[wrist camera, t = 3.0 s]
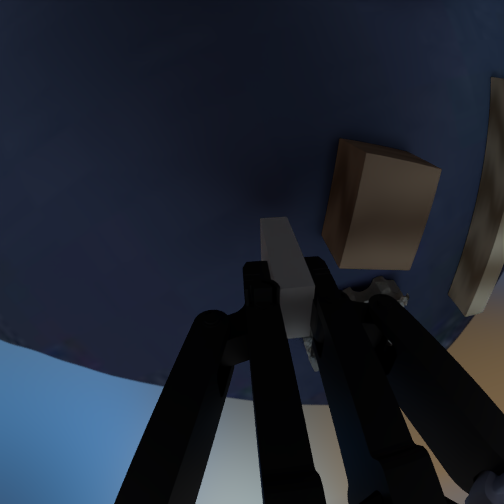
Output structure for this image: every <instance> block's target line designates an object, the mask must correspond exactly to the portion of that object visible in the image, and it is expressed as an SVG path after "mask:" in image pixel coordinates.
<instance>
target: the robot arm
mask: <svg viewBox="0 0 504 504" xmlns="http://www.w3.org/2000/svg"><path fill="white" fill-rule="evenodd" d="M260 230H261V261H253V262H246V264H245V265H244V267H243V281H244V296H245V304H244V306H243V307H242V309H241V310H239V311H238V312H236V313H233V314H230V315H227V314H225V313H224V312H222V311H219V310H208V311H204V312H202V313H200V314H199V315H198V316H197V317H196V318H195V320H194V322H193V324H192V326H191V328H190V331H189V333H188V335H187V337H186V339H185V342H184V344H183V346H182V348H181V350H180V352H179V355H178V357H177V359H176V361H175V364H174V366H173V368H172V370H171V372H170V375H169V377H168V379H167V381H166V384H165V386H164V388H163V390H162V393H161V395H160V397H159V399H158V402H157V404H156V406H155V409H154V411H153V413H152V415H151V418H150V420H149V422H148V424H147V427H146V429H145V431H144V434H143V436H142V439H141V441H140V443H139V446H138V448H137V450H136V453H135V455H134V457H133V459H132V462H131V464H130V467H129V469H128V472H127V474H126V477H125V479H124V481H123V483H122V486H121V488H120V491H119V493H118V496H117V498H116V501H115V503H114V504H195V502H196V499H197V496H198V492H199V489H200V485H201V482H202V479H203V475H204V472H205V469H206V465H207V461H208V458H209V455H210V451H211V448H212V444H213V441H214V438H215V434H216V431H217V427H218V424H219V420H220V417H221V413H222V410H223V406H224V402H225V399H226V395H227V392H228V388H229V385H230V381H231V378H232V374H233V370H234V365H236V364H239V363H242V362H244V361H247V360H250V371H251V382H252V393H253V404H254V414H255V426H256V437H257V447H258V457H259V468H260V478H261V487H262V498H263V504H326V500H325V495H324V490H323V485H322V482H321V478H320V476H319V474H318V473H317V472H316V470H315V467H314V463H313V458H312V453H311V448H310V443H309V438H308V433H307V429H306V423H305V418H304V414H303V409H302V404H301V399H300V395H299V390H298V385H297V380H296V376H295V371H294V366H293V362H292V357H291V353H290V348H289V343H288V339H289V338H299V337H308V336H310V329H311V330H312V334H313V338H312V346H311V353H310V357H313V353H315V357H316V360H317V364H318V368H319V371H320V375H321V378H322V382H323V386H324V389H325V393H326V397H327V401H328V404H329V408H330V412H331V416H332V419H333V423H334V427H335V431H336V435H337V439H338V443H339V446H340V450H341V455H342V459H343V463H344V467H345V471H346V475H347V479H348V503H349V504H457V503H456V502H454V501H452V500H450V499H449V498H447V497H445V496H444V494H443V491H442V488H441V485H440V482H439V479H438V477H437V474H436V471H435V469H434V466H433V463H432V460H431V458H430V455H429V453H428V451H427V450H426V449H425V448H424V447H423V446H420V445H416V444H415V443H414V442H413V440H412V437H411V435H410V432H409V430H408V427H407V425H406V422H405V420H404V417H403V415H402V412H401V410H402V411H403V412H404V414H405V415H406V416H407V418H408V419H409V420H410V422H411V423H412V425H413V426H414V427H415V429H416V430H417V431H418V433H419V434H420V435H421V437H422V438H423V440H424V441H425V442H426V444H427V445H428V447H429V448H430V449H431V451H432V452H433V454H434V455H435V456H436V458H437V459H438V460H439V462H440V463H441V465H442V466H443V468H444V469H445V470H446V472H447V473H448V474H449V476H450V477H451V478H452V479H453V481H454V482H455V483H456V484H457V485H458V486H459V487H461V488H462V489H463V490H464V491H465V492H467V493H468V494H469V496H468V497H467V498H466V500H465V504H504V414H503V413H502V411H501V410H500V409H499V408H498V407H497V406H496V404H495V403H494V402H493V401H492V400H491V399H490V397H488V395H487V394H486V393H485V392H484V391H483V389H481V387H480V386H479V385H478V384H477V383H476V382H475V381H474V379H473V378H472V377H471V376H470V375H469V374H468V373H467V372H466V371H465V370H464V369H463V368H462V366H461V365H460V364H459V363H458V362H457V361H456V360H455V359H454V358H453V357H452V356H451V355H450V354H449V353H448V351H447V350H446V349H445V348H444V347H443V346H442V345H441V344H440V343H439V342H438V341H437V340H436V339H435V338H434V337H433V336H432V335H431V334H430V333H429V332H428V331H427V330H426V329H425V328H424V327H423V326H422V325H421V324H420V323H419V322H418V321H417V320H416V319H415V318H414V317H413V316H412V315H411V314H410V313H409V312H408V311H407V310H406V309H405V308H404V307H403V306H402V305H401V304H400V303H399V302H398V301H397V300H396V299H394V298H393V297H391V296H389V295H386V294H376V295H373V296H371V297H370V299H369V301H368V303H365V302H357V301H352V300H350V298H349V296H348V295H347V294H346V293H345V292H343V291H341V290H339V289H338V287H337V285H336V283H335V281H334V279H333V277H332V275H331V274H330V271H329V269H328V267H327V265H326V263H325V261H324V260H322V259H321V258H320V257H318V256H315V257H303V254H302V252H301V250H300V247H299V245H298V242H297V240H296V237H295V235H294V233H293V230H292V228H291V226H290V223H289V221H288V219H287V217H274V218H260ZM388 340H389V341H390V342H391V343H392V344H391V343H390V342H389V341H388ZM400 408H401V410H400Z"/></svg>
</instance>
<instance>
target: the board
mask: <svg viewBox="0 0 504 504" xmlns="http://www.w3.org/2000/svg"><path fill="white" fill-rule="evenodd" d="M503 264H504V79H501V78H495V77H491V98H490V114H489V126H488V135H487V144H486V151H485V158H484V164H483V170H482V176H481V181H480V187H479V191H478V196H477V201H476V205H475V209H474V213H473V217H472V221H471V225H470V229H469V233H468V236H467V240H466V243H465V246H464V250H463V253H462V256H461V259H460V262H459V265H458V268H457V271H456V274H455V277H454V280H453V282H452V285H451V288H450V290H449V293H448V295H449V296H450V298H451V299H452V300H453V301H454V303H455V304H456V305H457V307H458V308H459V309H460V311H461V312H462V313H463V315H464V316H465V317H467V316H471V315H474V314H478V313H482V312H483V311H484V309H485V306H486V304H487V302H488V300H489V298H490V295H491V293H492V291H493V289H494V286H495V284H496V282H497V279H498V277H499V274H500V272H501V269H502V266H503Z"/></svg>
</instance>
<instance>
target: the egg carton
mask: <svg viewBox="0 0 504 504" xmlns="http://www.w3.org/2000/svg"><path fill="white" fill-rule="evenodd" d="M343 292H345V293H346V294H347V295H348V296H349V298H350V300H352V301H357V302H365V303H368V301H369V299H370V297H371V296H373V295H376V294H386V295H389V296H391V297H393V298H394V299H396V300H397V301H398V302H399V303H400V304H401V305H402V306H403V307H404V305H406V306H407V300H409V295H408V293H407V295H406V296H403V294H402V292H401V291H400V289H399V288H398V286H397V285H396V283H395V282H394V280H385V279H384V278H383V276H379V277H376V278H374V279H373V280H372V283H371V285H370V286H369V287H368V288H367V289H366V290H364V291H361V292H356V291H353V290H352V289H351V287H349V288H346V289H345V290H343ZM302 338H303V340H304V345H305V348H306V350H307V354H308V356H309V360H310V363H311V365H312V367H313V369H314V371H318V370H319V368H318V364H317V360H316V357H315V353H313V357H310V353H311V346H312V338H313V334H312V330H311V329H310V336H308V337H302ZM388 341H389V340H388ZM389 342H390V341H389ZM390 343H391V342H390ZM391 344H392V343H391Z"/></svg>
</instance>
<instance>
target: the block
mask: <svg viewBox="0 0 504 504" xmlns="http://www.w3.org/2000/svg"><path fill="white" fill-rule="evenodd" d="M441 170H442V169H440V168H438V167H436V166H434V165H433V164H431V163H429V162H427V161H425V160H423V159H421V158H419V157H417V156H415V155H413V154H411V153H409V152H407V151H402V150H398V149H394V148H389V147H384V146H380V145H375V144H370V143H365V142H359V141H354V140H348V139H342V138H340V139H339V146H338V152H337V157H336V163H335V169H334V174H333V180H332V185H331V190H330V196H329V201H328V206H327V211H326V216H325V221H324V225H323V230H322V237H323V239H324V241H325V243H326V244H327V246H328V248H329V250H330V252H331V254H332V256H333V257H334V259H335V261H336V263H337V265H338V267H339V268H347V269H381V270H410V268H411V265H412V262H413V260H414V257H415V254H416V252H417V249H418V246H419V243H420V240H421V237H422V234H423V231H424V228H425V225H426V222H427V219H428V216H429V213H430V210H431V206H432V203H433V199H434V196H435V192H436V189H437V185H438V181H439V178H440V174H441Z"/></svg>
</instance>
